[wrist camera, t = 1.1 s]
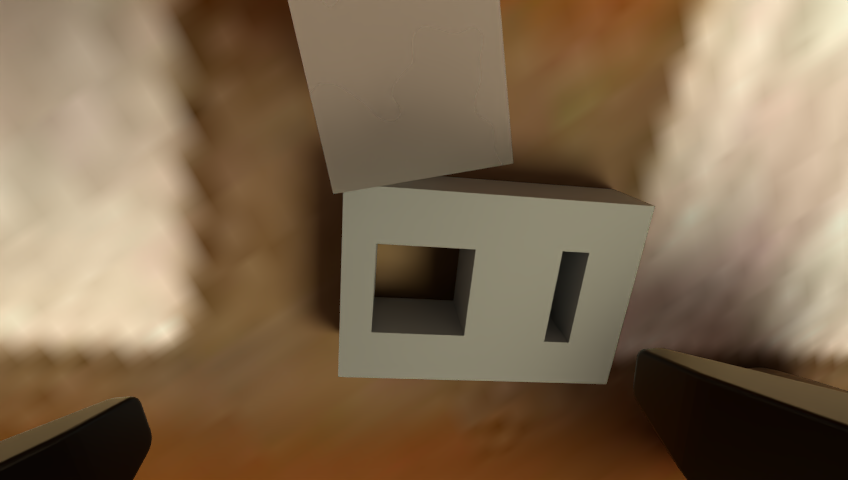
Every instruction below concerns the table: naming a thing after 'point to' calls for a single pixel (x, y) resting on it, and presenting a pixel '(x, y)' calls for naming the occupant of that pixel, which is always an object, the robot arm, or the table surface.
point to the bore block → (492, 280)
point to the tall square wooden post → (405, 87)
